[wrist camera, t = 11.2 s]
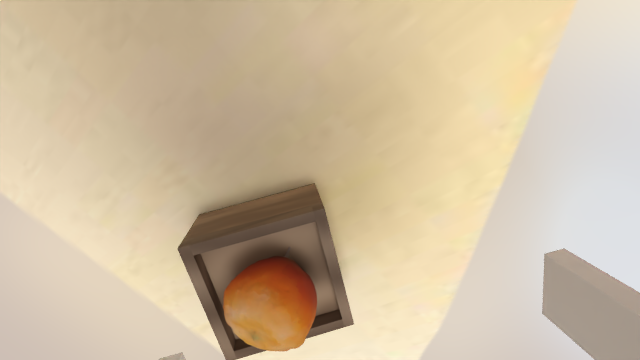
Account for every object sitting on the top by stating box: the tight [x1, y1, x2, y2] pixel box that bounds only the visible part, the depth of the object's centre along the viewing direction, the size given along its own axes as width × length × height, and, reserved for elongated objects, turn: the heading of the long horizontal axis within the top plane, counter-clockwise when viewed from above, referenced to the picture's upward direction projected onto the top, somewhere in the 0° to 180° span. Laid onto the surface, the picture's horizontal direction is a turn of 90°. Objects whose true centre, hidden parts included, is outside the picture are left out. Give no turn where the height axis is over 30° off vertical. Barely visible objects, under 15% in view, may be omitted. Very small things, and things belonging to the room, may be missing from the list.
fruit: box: [223, 247, 317, 351], centre depth 27 cm, size 8×8×8 cm
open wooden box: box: [178, 183, 354, 360], centre depth 32 cm, size 13×13×8 cm
